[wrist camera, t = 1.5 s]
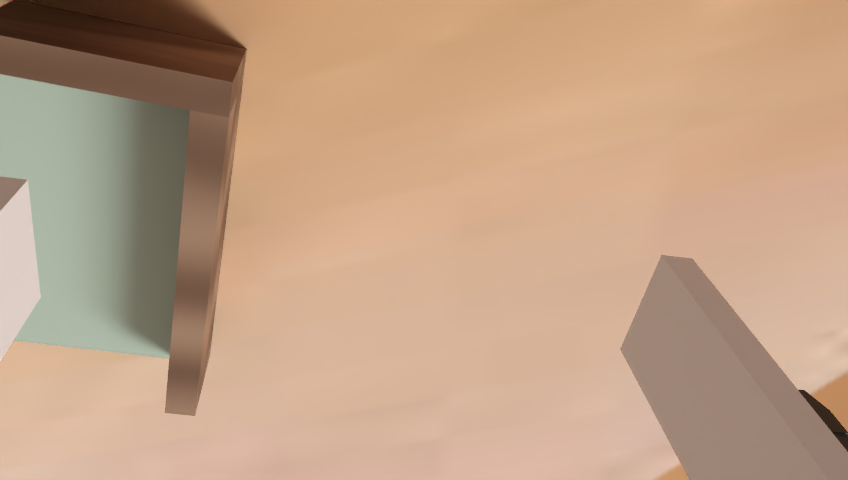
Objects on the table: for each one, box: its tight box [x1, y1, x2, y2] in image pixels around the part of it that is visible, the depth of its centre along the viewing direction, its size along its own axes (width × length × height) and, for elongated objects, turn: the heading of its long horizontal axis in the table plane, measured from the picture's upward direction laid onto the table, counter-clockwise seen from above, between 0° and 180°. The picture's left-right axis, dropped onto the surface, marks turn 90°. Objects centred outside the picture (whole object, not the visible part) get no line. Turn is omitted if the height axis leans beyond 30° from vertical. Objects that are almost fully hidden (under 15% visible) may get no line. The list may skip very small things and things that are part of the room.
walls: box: [0, 0, 247, 416], centre depth 34 cm, size 20×16×5 cm
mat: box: [0, 74, 190, 358], centre depth 36 cm, size 18×14×1 cm
